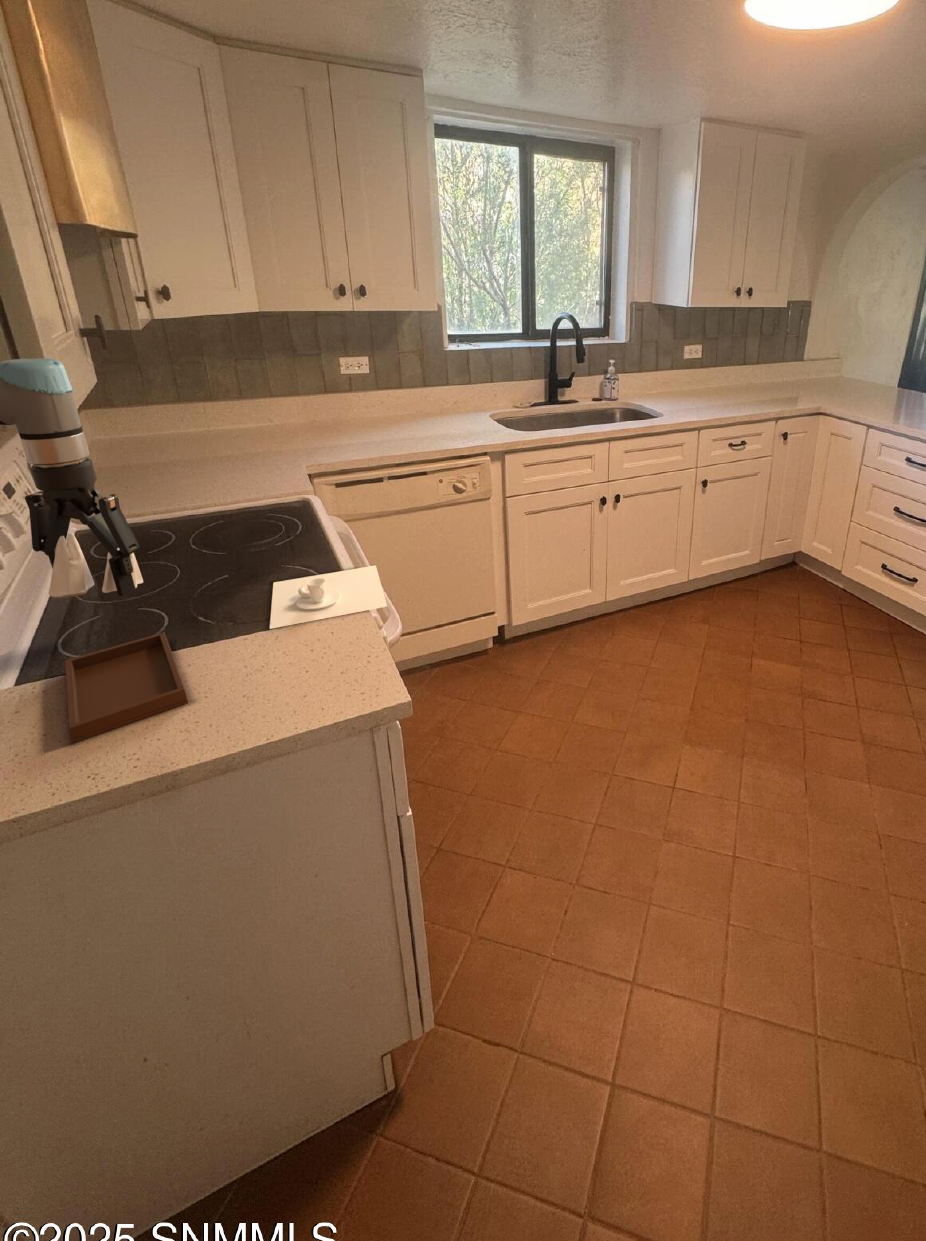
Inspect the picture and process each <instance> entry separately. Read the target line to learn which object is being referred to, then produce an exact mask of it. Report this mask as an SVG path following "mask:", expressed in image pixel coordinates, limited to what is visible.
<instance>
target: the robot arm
mask: <svg viewBox="0 0 926 1241" xmlns="http://www.w3.org/2000/svg"><path fill="white" fill-rule="evenodd" d="M73 392H74V388H73V386H72V385H71V382H70V379H69V376H68V373H67V371H66V368H65V365H64V364H63V363H62V362H61V361H59V360H58V359H55V358H45V357H43V358H42V357H39V358H38V357H36V358H35V357H34V358H17V359H16V358H15V359H8V360H1V361H0V426H12V425H13V426H14V425H15V428H16V430H17V433H18V435H19V438H20V442H21V446H22V449H23V452H24V456H25V459H26V462H27V463H28V464H29V465H32V466H30V469H29V471H30V473H31V477H32V480H33V483H34V486H35V488H36V489H37V490H39V491H37V492H33V493H30V494H28V495H25V496H24V501H25V503H26V505H27V508H28V511H29V512H28V513H29V523H30V524H29V525H30V534H31V546H32V550H33V551H34V552H36V553H38V552H42V553H44V555H45V556H48V559H49V563H50V566H51V569H52V570H53V565H54V560H55V552H56V546H57V542H58V540H59V538H60V537H61V536H64V537H65V540H66V541H67V535H68V534H69V530H70V529H69V528H70V524H71V520H73V519H74V520H76V521H77V520H78V521H79V522H80V523H81V524H82V525H84V526H87V527H88V528H89V530H90V531H91V532H92V533H93V535H94V536H95V538H97V540H98V541H99V542H100V543H101V545H102V546H103V548H104V549H105V550H106V551H107V553H108V552H109V553H110V554H111V556H112V558H110V559H109V560H108V561H109V564H110V568H111V571H112V575H113V578H114V582H115V585H116V589H117V591H116V592H117V596H119V597H123V596H125V595H127V594H128V593H130V592H132V591H134V590H135V589H136V588H135V585H134V581H133V578H132V574H131V573H132V572H133V567H132V563H131V559H130V554H132V553H134V554H135V552H136V553H137V551H140V549H141V546H140V544H139V542H138V540H137V539H136V536H135V534H134V532H133V530H132V529H131V527H130V525H129V523H128V520H127V519H126V517H125V515H124V513H123V511H122V509H121V507H120V500H119V496H118V495H117V494H115V493H112V494H109V495H103V494H100V493H99V492H98V490H97V488H96V486H95V485H96V481H97V479H98V478H97V474H96V470H95V466H94V463H93V460H91V459H90V458H89V456H90V454H91V453H90V450H89V446H88V443H87V439H86V436H85V432H84V428H83V425H82V424H81V420H80V416H79V411H78V408H77V404H76V400H75V396H74V393H73ZM117 548H119V549H120V550H117Z"/></svg>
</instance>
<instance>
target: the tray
mask: <svg viewBox="0 0 926 1241" xmlns="http://www.w3.org/2000/svg"><path fill="white" fill-rule="evenodd" d="M177 666H178V665H177V663H176V661H175V658H174V654H173V652H172V648H171V646H170V643H169V640H168V638H167V635H166V633H165V631H162V632H159V633H156V634H152V635H149V636H145V637H142V638H138V639H135V640H131V641H128V642H125V643H121V644H117V645H114V646H111V647H107V648H103V649H100V650H95V651H93V652H89V653H86V654H82V655H80V656H76V657H72V658H68V659H65V660H64V667H65V668H64V669H65V682H66V684H65V686H66V700H67V714H68V715H67V716H68V717H67V718H68V729H69V732H70V735H71V738H72V739H73V742H74V743H78V742H80V741H83V740H86V739H89V738H92V737H95V736H98V735H100V734H103V733H106V732H109V731H112V730H115V729H117V728H120V727H123V726H125V725H129V724H133V723H135V722H137V721H141V720H143V719H146V718H149V717H152V716H155V715H157V714H160V713H163V712H166V711H169V710H172V709H175V708H178V707H181V706H183V705H186V704H188V703H189V699H188V696H187V692H186V689H185V686H184V683H183V680H182V677H181V675H180V672H179V669H178V667H177Z"/></svg>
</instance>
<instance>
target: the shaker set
mask: <svg viewBox="0 0 926 1241" xmlns="http://www.w3.org/2000/svg"><path fill="white" fill-rule="evenodd" d="M117 550H120V549H119V548H117ZM110 558H112V556H111V554H110V553H109V552H108V551H107V561H106V565H105V571H104V577H103V583H102V587H101V593H102V594H103V593H104V594H108V593H112V592H117V589H116V585H115V582H114V578H113V575H112V571H111V568H110V564H109V561H108V560H109V559H110ZM130 559H131V563H132V567H133V572H132V573H131V574H132V578H133V581H134V585H135V589H137V588H138V585H139V584H143V583H144V579H143V576H142V572H141V571H140V568H139V564H138V561H137V559H136V555H135V552H134V553H132V554H130ZM94 586H95V581H94V578H93V576H92V574H91V570H90V568H89V565H88V563H87V561H86V558H85V556H84V553H83V551H82V549H81V546H80V543H79V542H78V540H77V538H76V536H75V534H74V533H72V532H71V533H70V532H69V533H67V538H66V540H65V537H64V536H61V537H60V538H59V540H58V542H57V546H56V552H55V560H54V565H53V569H52V571H51V576H50V583H49V589H48V595H49V596H50V597H51V598H55V599H63V598H64V599H65V598H73V597H79V596H83V595H86V594H87V592H88V590H89V589H91V588H92V587H94Z"/></svg>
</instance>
